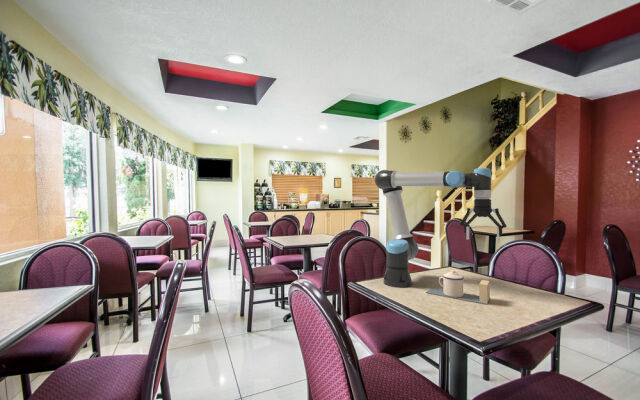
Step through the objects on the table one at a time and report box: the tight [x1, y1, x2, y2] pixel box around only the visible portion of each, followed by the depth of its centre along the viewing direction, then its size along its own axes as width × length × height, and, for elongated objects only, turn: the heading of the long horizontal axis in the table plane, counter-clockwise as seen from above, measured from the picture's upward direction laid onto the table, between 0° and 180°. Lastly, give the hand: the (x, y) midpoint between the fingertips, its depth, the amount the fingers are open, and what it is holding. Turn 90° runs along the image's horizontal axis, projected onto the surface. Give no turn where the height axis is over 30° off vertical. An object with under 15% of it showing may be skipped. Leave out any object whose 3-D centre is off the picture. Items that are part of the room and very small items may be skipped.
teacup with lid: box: [438, 269, 465, 297], centre depth 136 cm, size 12×9×12 cm
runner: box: [425, 279, 491, 305], centre depth 134 cm, size 26×10×8 cm, turn 52°
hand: (482, 240), depth 143 cm, fingers open, 13 cm apart
